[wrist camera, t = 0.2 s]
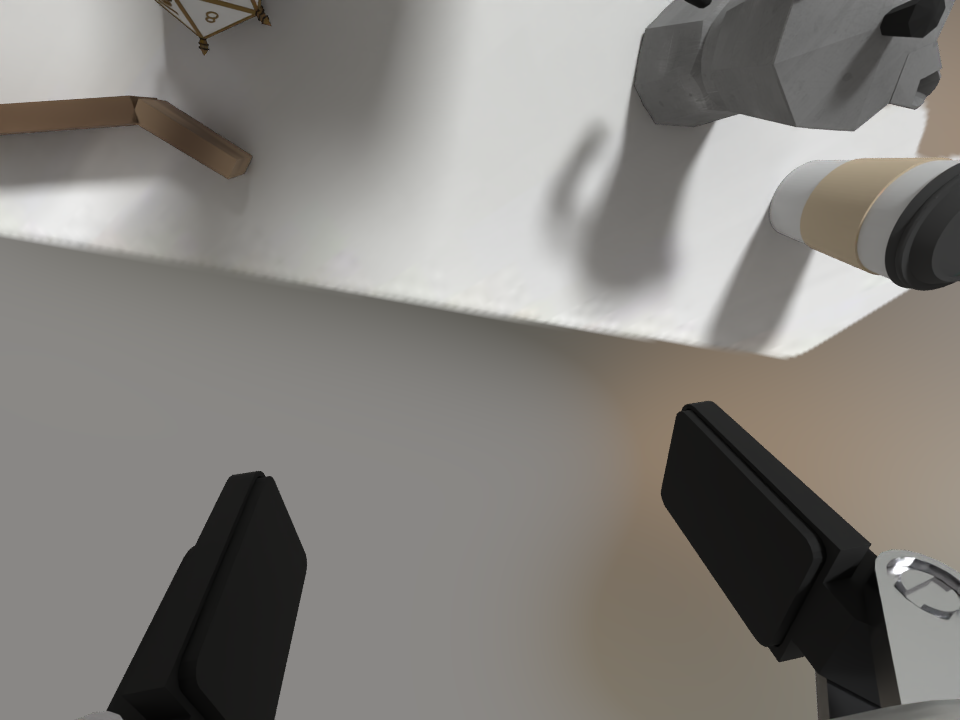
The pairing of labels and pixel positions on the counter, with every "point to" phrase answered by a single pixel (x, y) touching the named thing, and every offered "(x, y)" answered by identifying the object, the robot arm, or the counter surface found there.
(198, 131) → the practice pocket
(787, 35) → the coffeepot
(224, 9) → the game die
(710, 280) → the counter surface
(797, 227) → the coffee cup
